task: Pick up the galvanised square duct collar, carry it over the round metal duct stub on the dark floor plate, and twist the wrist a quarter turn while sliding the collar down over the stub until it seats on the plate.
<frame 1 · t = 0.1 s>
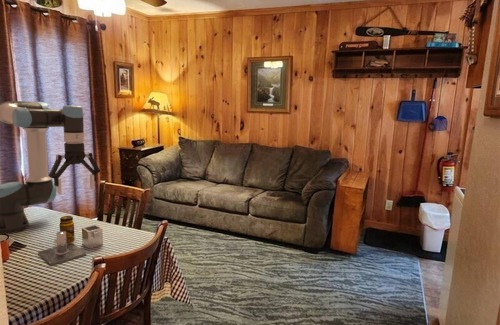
hand: (76, 191, 144), 28 cm above the table, fingers open, 13 cm apart
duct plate: (62, 254, 144), on the table
condiment: (65, 241, 158), on the table
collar: (92, 244, 156), on the table
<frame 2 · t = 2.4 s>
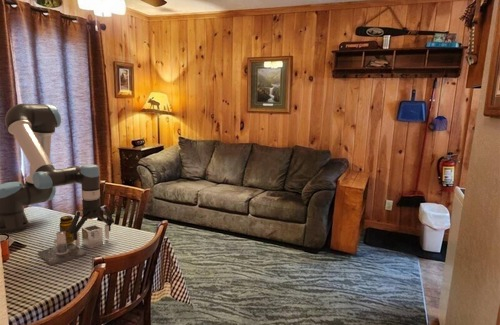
hand: (92, 241, 156), 1 cm above the table, fingers open, 13 cm apart
nothing on the table moved.
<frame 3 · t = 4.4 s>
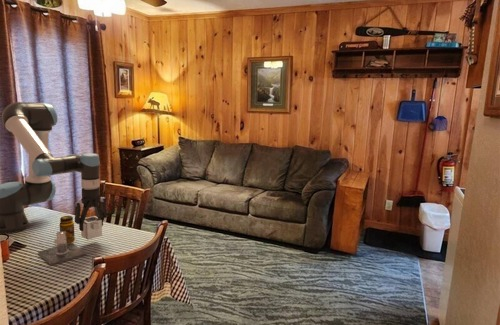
hand: (91, 234, 156), 5 cm above the table, fingers closed on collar, 7 cm apart
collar: (91, 235, 156), point 4 cm above the table, touching gripper
everything else where it was.
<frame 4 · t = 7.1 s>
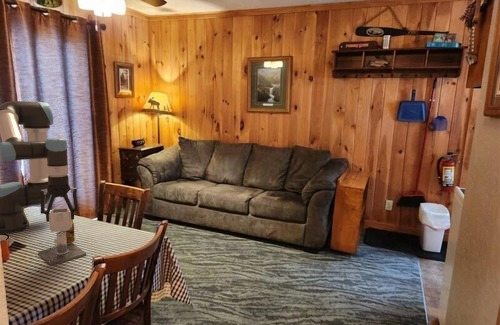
hand: (61, 227, 142), 12 cm above the table, fingers closed on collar, 7 cm apart
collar: (61, 228, 142), point 12 cm above the table, touching gripper
everything else where it was.
when the fingers open (3 cm above the table, at t = 9.9 s): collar drops 1 cm, resting on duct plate.
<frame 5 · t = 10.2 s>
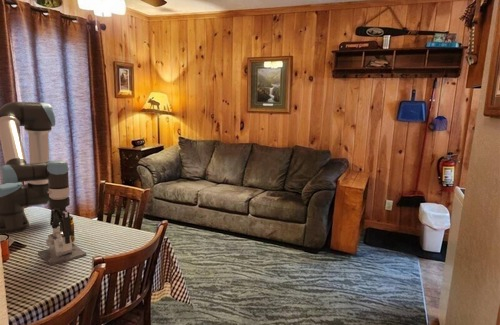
hand: (61, 246, 144), 4 cm above the table, fingers open, 11 cm apart
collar: (61, 251, 144), point 1 cm above the table, touching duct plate
everything else where it was.
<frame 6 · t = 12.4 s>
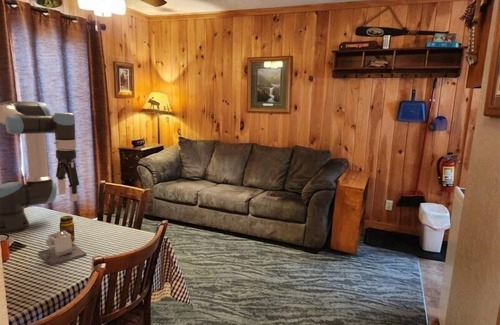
hand: (67, 197, 145), 25 cm above the table, fingers open, 13 cm apart
nothing on the table moved.
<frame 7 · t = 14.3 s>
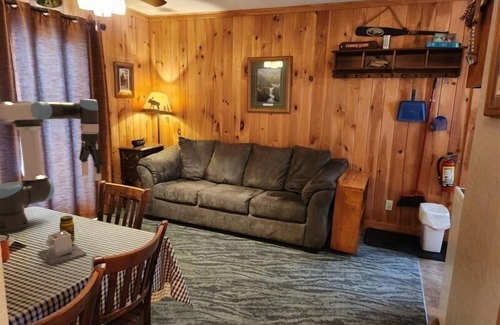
hand: (91, 177, 157), 31 cm above the table, fingers open, 13 cm apart
nothing on the table moved.
at the end: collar 0.2 cm off-centre on the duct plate, point 1.3 cm above the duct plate's base; the gripper is holding nothing; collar tilted 4° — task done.
